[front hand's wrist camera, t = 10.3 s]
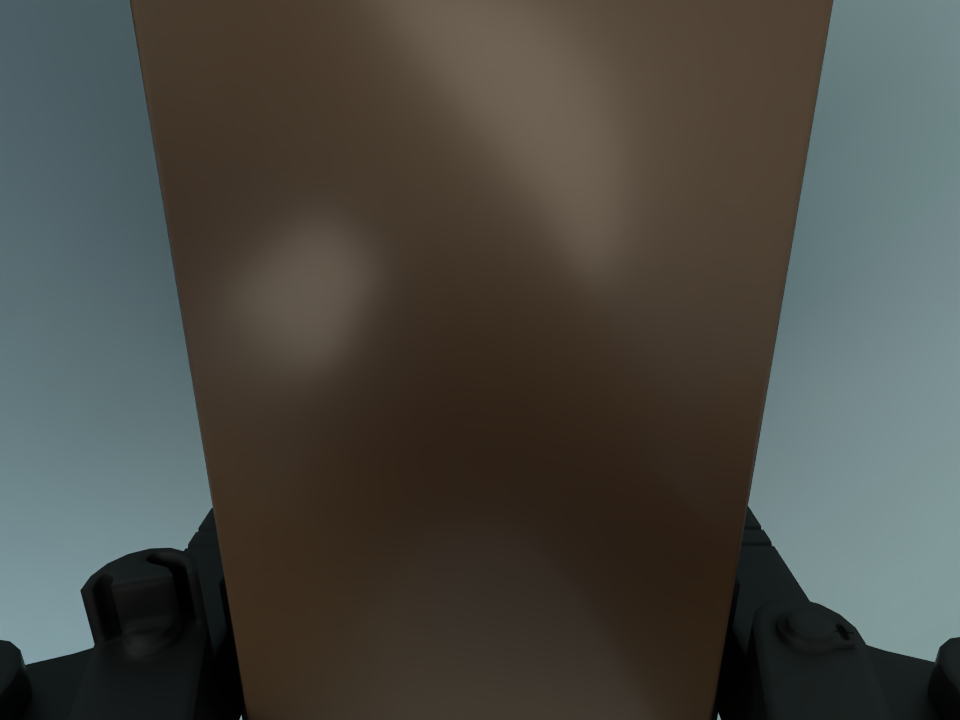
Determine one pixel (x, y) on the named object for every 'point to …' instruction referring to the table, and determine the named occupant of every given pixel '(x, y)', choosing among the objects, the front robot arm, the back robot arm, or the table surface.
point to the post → (480, 335)
